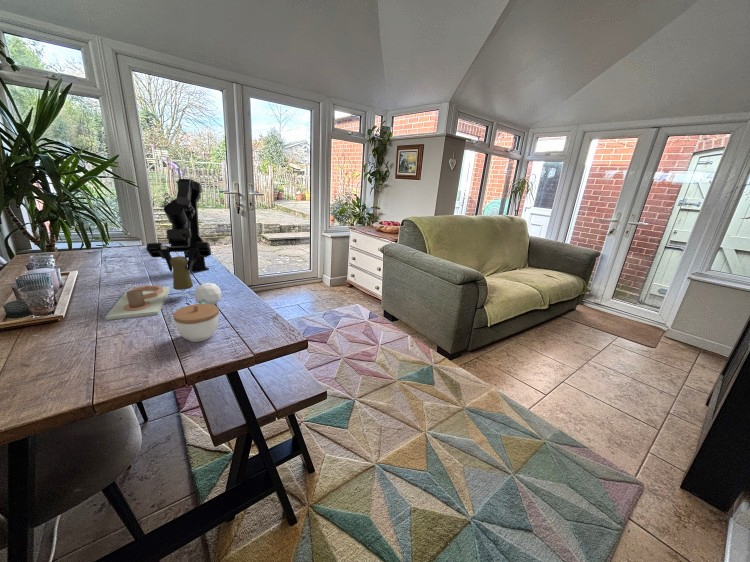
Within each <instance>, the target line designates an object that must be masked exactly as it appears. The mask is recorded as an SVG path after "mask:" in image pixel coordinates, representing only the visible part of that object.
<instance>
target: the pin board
mask: <svg viewBox="0 0 750 562" xmlns="http://www.w3.org/2000/svg"><path fill="white" fill-rule="evenodd" d="M171 290H172V289H171V286H163V287H162V286H160V285H148V284H147V285H146V284H145V285H143V286H142V285H141V286H138V287H133V288H131V289H127V290H126V292H125V293H124V294H123V296H121V297H120V299H119V300H118V301H117V302H116V304H114V306H113V307H112V308H111V309H110V311H109V312H108V313H107V314H106V316H105V320H106V321H107V320H109V321H110V320H117V319H118V320H119V319H130V318H137V317H145V316H155V315H160V313H161V311H162V308H163V306H164V304H165V302H166V299H167V298H168V296H169V293H170V292H171Z"/></svg>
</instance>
